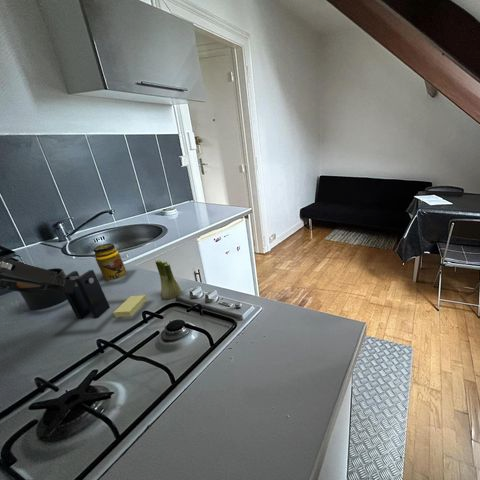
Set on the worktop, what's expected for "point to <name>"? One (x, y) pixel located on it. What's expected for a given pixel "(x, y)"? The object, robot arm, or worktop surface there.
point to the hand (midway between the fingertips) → (58, 288)
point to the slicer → (87, 295)
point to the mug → (45, 296)
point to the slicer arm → (23, 285)
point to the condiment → (109, 262)
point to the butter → (130, 306)
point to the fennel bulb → (167, 281)
